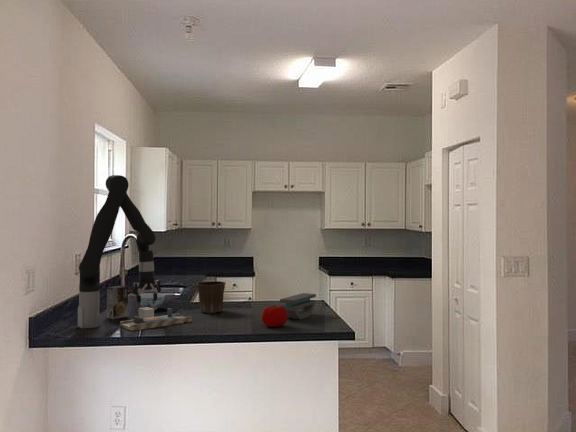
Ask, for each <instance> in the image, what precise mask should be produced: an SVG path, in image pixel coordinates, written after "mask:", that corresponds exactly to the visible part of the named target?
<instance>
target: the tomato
mask: <svg viewBox="0 0 576 432" xmlns="http://www.w3.org/2000/svg"><path fill="white" fill-rule="evenodd" d="M287 317H288V316H287V311H286V309H285V308H284V307H281V305H279V306H278V305H277V304H275V305H271V306H267V307H265V308H264V309H263V310H262V312H261V320H262V323H263V325H265V326H266V327H269V328H279V327H283V326H284V325H285V324H286V323H287V321H288V318H287Z"/></svg>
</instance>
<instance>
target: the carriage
mask: <svg viewBox="0 0 576 432" xmlns="http://www.w3.org/2000/svg"><path fill="white" fill-rule="evenodd" d="M166 311H167V314H166V315H165V314H163V315H158V316H157V317H156V316H154V317H148V318H143V323H148V322H155V321H162V320H169V319H176V318H177V317H174V316H172V314H173V308H172V307H171V308H170V307H169V308H167V310H166Z"/></svg>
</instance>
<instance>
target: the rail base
mask: <svg viewBox="0 0 576 432" xmlns="http://www.w3.org/2000/svg"><path fill="white" fill-rule="evenodd" d="M172 316H174V317H177V318H176V319H169V320H162V321H155V322H148V323H143V318H140V317H139V316H137V315H134V316H133V319H128V320H121V321H120V320H119V321H120V322H119V328H121V329H125V330H129V331H131V332H132V331H140V330H146V329H154V328H159V327H166V326H172V325H173V324H174V325H177V324H178V325H180V324H185V323H184V322H187V323H192V322H191V321H193V320H192V316H183V315H181V313H172ZM155 317H157V316H155ZM179 323H180V324H179Z"/></svg>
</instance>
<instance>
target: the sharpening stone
mask: <svg viewBox="0 0 576 432" xmlns="http://www.w3.org/2000/svg"><path fill="white" fill-rule="evenodd" d="M316 297H317V294H316V293H305V292H302V293H299V294H298V293H297V294H296V295H295V294H294V295H291V296H288V297H287V296H286V297H282V298H280V299H279V302H280V303H284V304H281V305H280V307H284V308H285V309H286V311H287V316H288V317H287V319H289V318H292V319H291V320H298V319H300V320H303V319H305V317H306V318H309V317H311V315H312V313H313V310H314V307H315V306H316V300H313V299H314V298H316ZM308 316H309V317H308ZM302 318H303V319H302Z"/></svg>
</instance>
